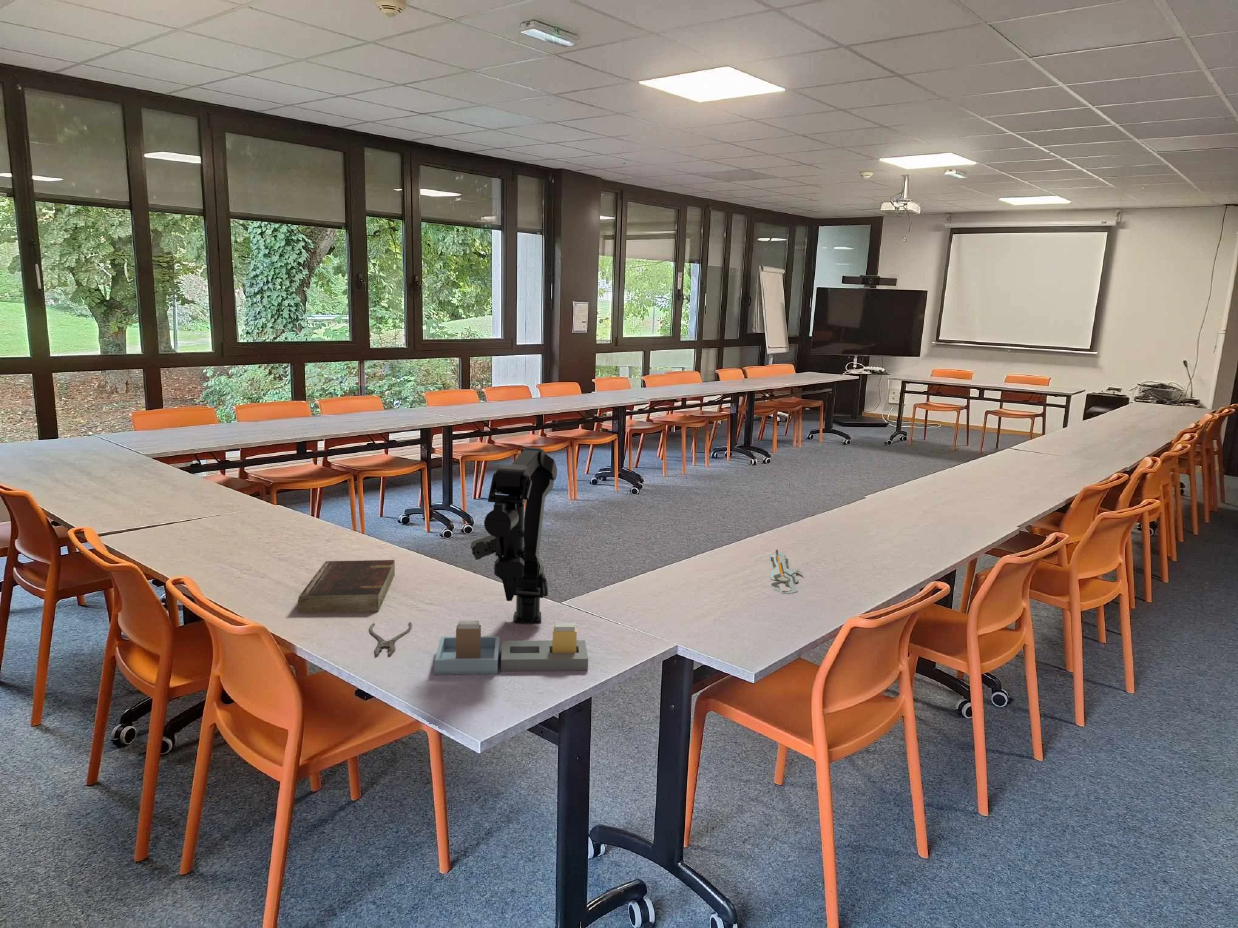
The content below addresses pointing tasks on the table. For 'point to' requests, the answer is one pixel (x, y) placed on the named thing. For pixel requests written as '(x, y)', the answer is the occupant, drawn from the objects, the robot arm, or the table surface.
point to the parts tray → (482, 665)
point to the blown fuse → (468, 640)
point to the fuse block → (541, 656)
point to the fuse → (564, 638)
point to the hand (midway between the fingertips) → (509, 593)
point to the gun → (783, 573)
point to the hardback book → (348, 587)
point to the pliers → (387, 644)
